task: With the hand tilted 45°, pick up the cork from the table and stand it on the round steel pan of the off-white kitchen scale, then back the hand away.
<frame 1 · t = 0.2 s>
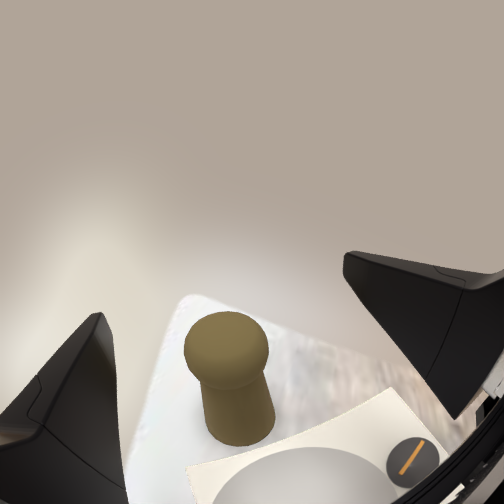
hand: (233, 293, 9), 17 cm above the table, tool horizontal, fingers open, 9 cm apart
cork: (240, 417, 21), on the table
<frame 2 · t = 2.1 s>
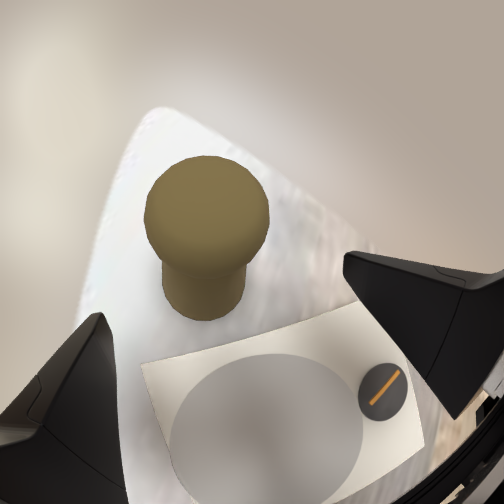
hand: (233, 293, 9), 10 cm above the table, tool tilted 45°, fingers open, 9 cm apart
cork: (203, 280, 20), on the table
kitchen scale: (290, 417, 17), on the table
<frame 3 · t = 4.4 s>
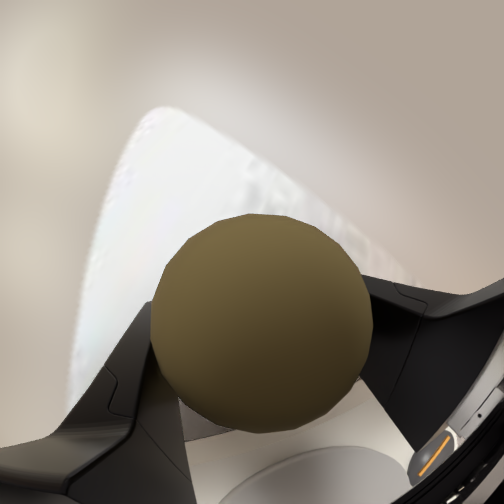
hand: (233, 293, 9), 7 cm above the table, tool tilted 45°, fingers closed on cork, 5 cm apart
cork: (226, 343, 15), on the table, touching gripper
kitchen scale: (327, 486, 12), on the table
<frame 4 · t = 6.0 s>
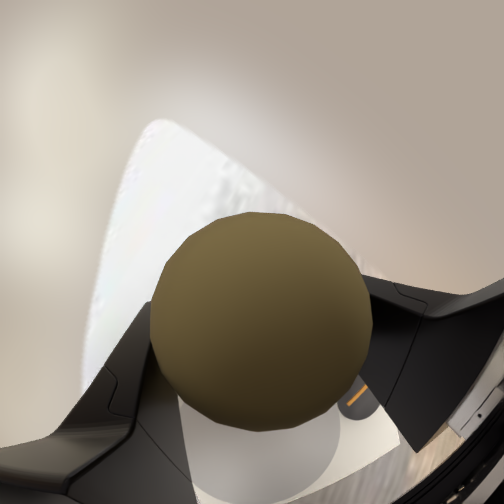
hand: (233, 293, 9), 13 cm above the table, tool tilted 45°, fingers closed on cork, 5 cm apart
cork: (226, 342, 15), point 6 cm above the table, touching gripper
kitchen scale: (278, 413, 19), on the table
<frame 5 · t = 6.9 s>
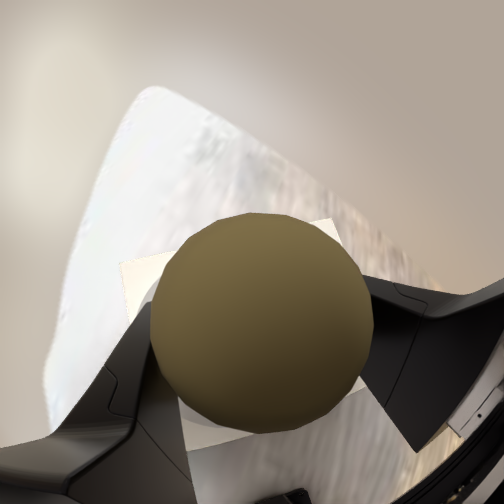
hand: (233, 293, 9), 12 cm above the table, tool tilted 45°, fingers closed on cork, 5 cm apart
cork: (226, 343, 15), point 6 cm above the table, touching gripper
kitchen scale: (250, 334, 21), on the table
when the fingers open (12 cm above the table, at t = 7.6 s): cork stays where it is, resting on kitchen scale.
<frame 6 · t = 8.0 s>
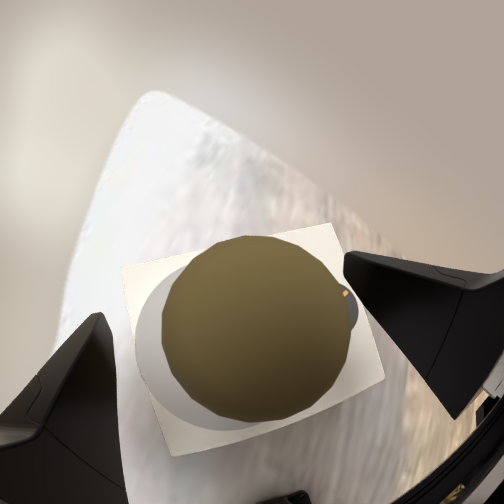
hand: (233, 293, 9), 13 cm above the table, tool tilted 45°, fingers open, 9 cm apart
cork: (225, 345, 16), point 5 cm above the table, touching kitchen scale
kitchen scale: (250, 338, 21), on the table
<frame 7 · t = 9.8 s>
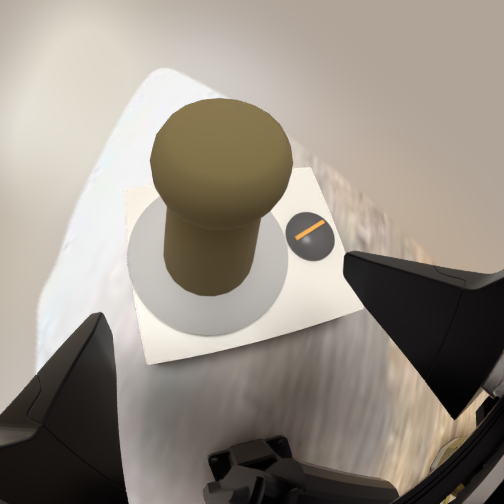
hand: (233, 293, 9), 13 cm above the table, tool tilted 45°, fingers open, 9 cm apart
ceramic cup: (438, 467, 19), on the table
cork: (208, 252, 18), point 5 cm above the table, touching kitchen scale
kitchen scale: (234, 266, 23), on the table
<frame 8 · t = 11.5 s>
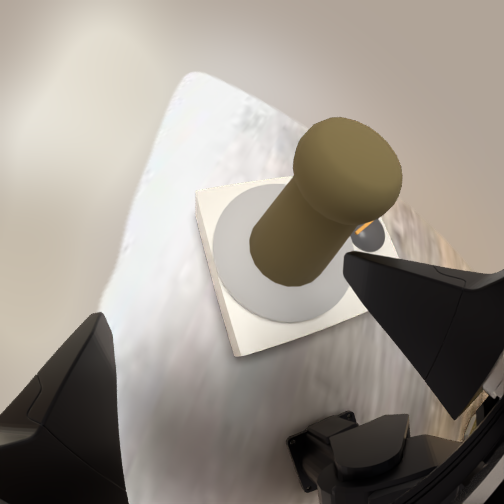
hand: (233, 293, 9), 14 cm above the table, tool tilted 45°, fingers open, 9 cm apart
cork: (289, 247, 20), point 5 cm above the table, touching kitchen scale
kitchen scale: (298, 260, 25), on the table
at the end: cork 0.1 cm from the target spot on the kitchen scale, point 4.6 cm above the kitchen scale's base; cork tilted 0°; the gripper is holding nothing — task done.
